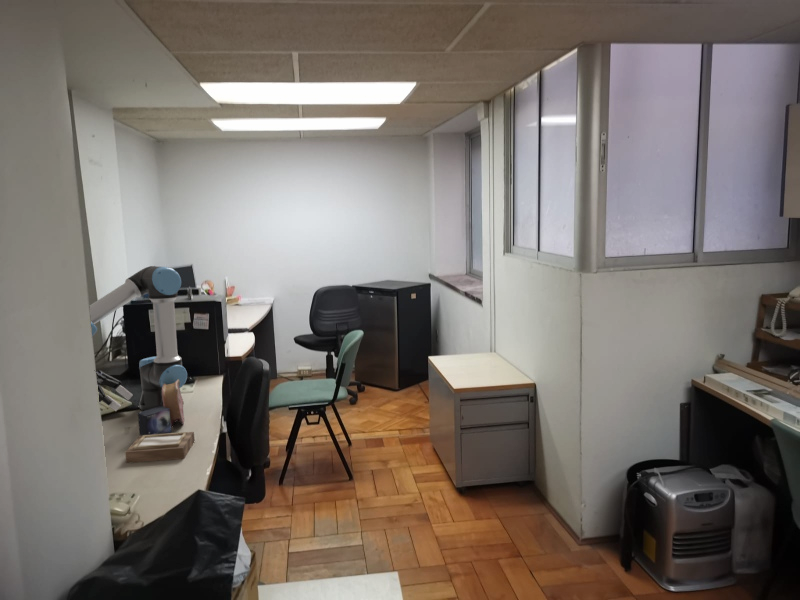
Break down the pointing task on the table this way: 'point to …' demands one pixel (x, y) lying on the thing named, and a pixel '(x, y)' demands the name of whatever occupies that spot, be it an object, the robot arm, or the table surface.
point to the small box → (154, 421)
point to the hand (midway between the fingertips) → (124, 403)
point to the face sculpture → (173, 401)
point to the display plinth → (160, 447)
